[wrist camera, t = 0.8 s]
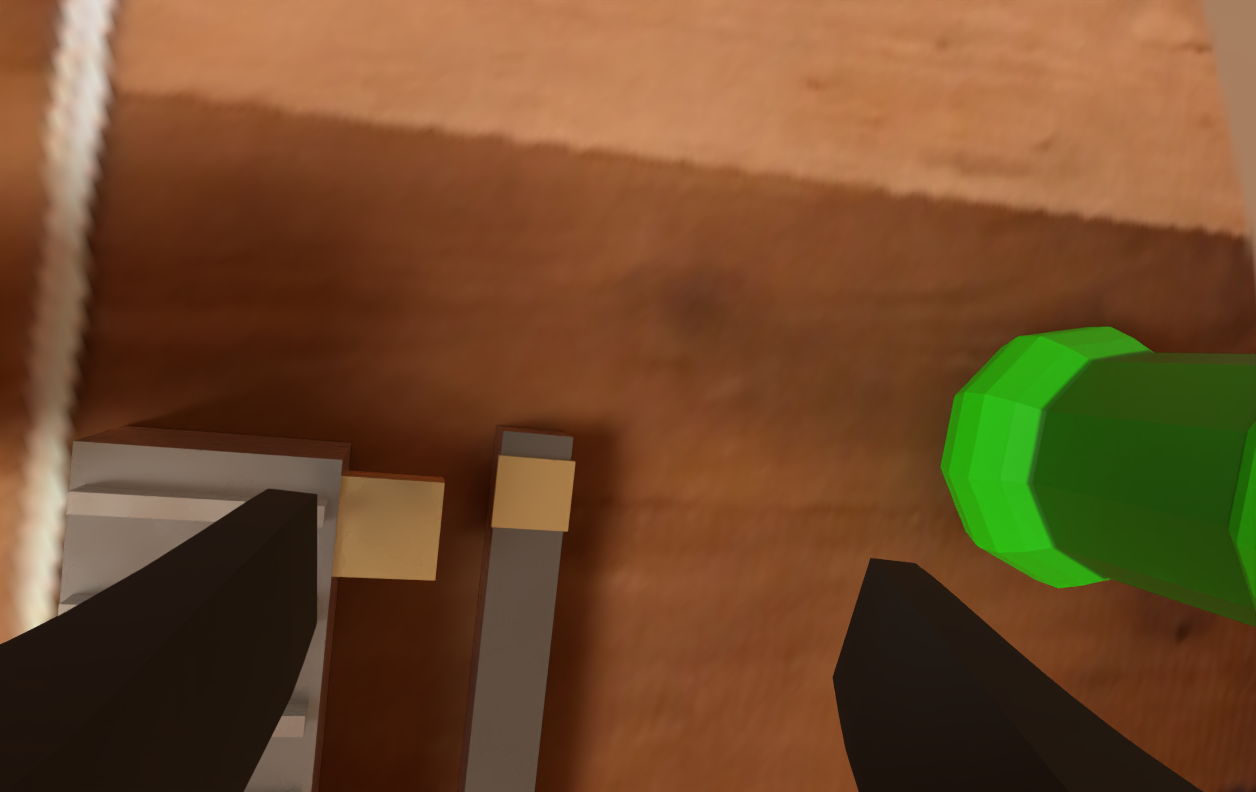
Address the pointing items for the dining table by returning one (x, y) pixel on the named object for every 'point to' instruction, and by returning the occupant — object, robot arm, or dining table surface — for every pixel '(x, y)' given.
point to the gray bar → (516, 608)
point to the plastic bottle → (1112, 466)
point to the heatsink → (213, 487)
